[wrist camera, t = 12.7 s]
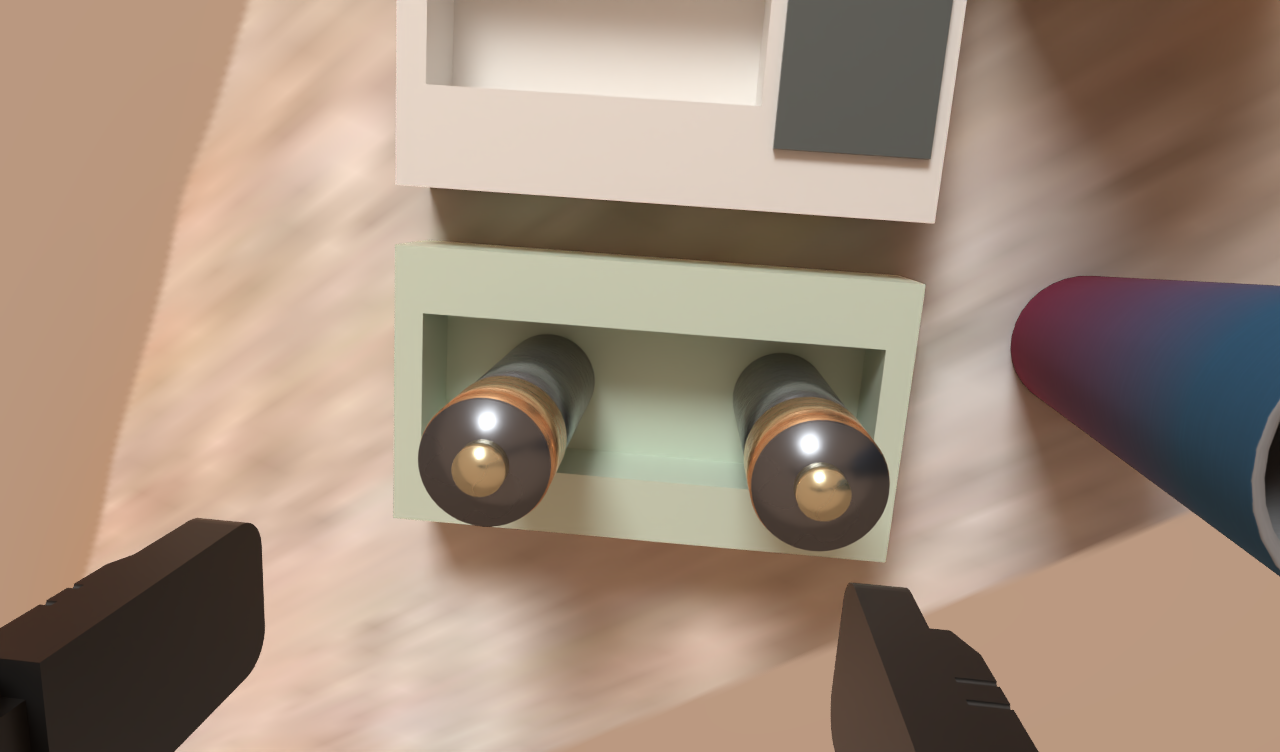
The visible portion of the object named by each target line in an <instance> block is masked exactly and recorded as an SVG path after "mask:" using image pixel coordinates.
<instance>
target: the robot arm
mask: <svg viewBox="0 0 1280 752" xmlns="http://www.w3.org/2000/svg"><path fill="white" fill-rule="evenodd" d="M264 633H265V619H264V594H263V569H262V545H261V537H260V534H259V531H258V529H257V528H256V527H255V526H254V525H253V524H251V523H243V522H233V521H223V520H212V519H202V518H195V519H192V520H190V521H188V522H186V523H185V524H183V525H182V526H180V527H178V528H177V529H175V530H173V531H172V532H170V533H168V534H167V535H165V536H164V537H162V538H160V539H159V540H157V541H155V542H154V543H152V544H150V545H149V546H147V547H146V548H144V549H142V550H141V551H139V552H137V553H136V554H134V555H131V556H128V557H126V558H123V559H120V560H117V561H115V562H112V563H109V564H106V565H105V566H103V567H101V568H100V569H98V570H96V571H95V572H93V573H91V574H90V575H88V576H86V577H85V578H83V579H81V580H80V581H78V582H76V583H75V584H74V587H73V588H66V589H65V590H63V591H61V592H60V593H58V594H56V595H55V596H53V597H51V598H50V599H48V600H47V602H46V605H38V606H36V607H35V608H33V609H31V610H30V611H28V612H26V613H25V614H23V615H21V616H20V617H18V618H16V619H15V620H13V621H11V622H10V623H8V624H6V625H5V626H3V627H1V628H0V752H174V751H175V750H176V749H177V748H178V747H179V746H180V745H181V744H182V743H183V742H184V741H185V740H186V739H187V738H188V737H189V736H190V735H191V734H192V733H193V732H194V731H195V730H196V729H197V728H198V727H199V726H200V725H201V724H202V723H203V722H204V721H205V720H206V719H207V718H208V717H209V715H210V714H211V713H212V712H213V711H214V710H215V709H216V708H217V707H218V706H219V705H220V704H221V703H222V702H223V701H224V700H225V699H226V698H227V697H228V696H229V695H230V694H231V693H232V692H233V691H234V690H235V689H236V688H237V687H238V686H239V685H240V684H241V683H242V682H243V681H244V680H245V679H246V678H247V676H248V675H249V674H250V673H251V671H252V670H253V668H254V666H255V664H256V662H257V660H258V658H259V655H260V652H261V649H262V645H263V640H264ZM831 730H832V739H833V745H834V749H835V752H1038V750H1037V749H1036V747H1035V745H1034V743H1033V742H1032V740H1031V739H1030V737H1029V735H1028V733H1027V732H1026V730H1025V729H1024V727H1023V725H1022V723H1021V722H1020V720H1019V718H1018V717H1017V715H1016V713H1015V712H1014V710H1010V703H1009V702H1008V700H1007V698H1006V697H1005V695H1004V693H1003V692H1002V690H1001V688H1000V687H997V685H996V680H995V678H994V677H993V675H992V673H991V671H990V670H989V668H988V666H987V665H986V663H985V661H984V660H983V658H982V656H981V655H980V654H979V653H978V652H977V651H975V650H974V649H973V648H971V647H970V646H969V645H968V644H966V643H965V642H964V641H963V640H961V639H960V638H959V637H958V636H956V635H955V634H954V633H953V632H951V631H949V630H939V629H929V627H928V625H927V623H926V621H925V619H924V617H923V615H922V613H921V611H920V609H919V607H918V605H917V603H916V601H915V600H914V598H913V596H912V594H911V592H910V590H909V589H908V588H902V587H891V586H881V585H871V584H860V583H849V584H848V585H847V588H846V591H845V595H844V600H843V607H842V615H841V623H840V631H839V639H838V646H837V655H836V662H835V670H834V678H833V686H832V695H831Z"/></svg>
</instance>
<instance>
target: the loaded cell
mask: <svg viewBox="0 0 1280 752" xmlns="http://www.w3.org/2000/svg"><path fill="white" fill-rule="evenodd" d="M733 408H734V413H735V418H736V422H737V427H738V432H739V437H740V441H741V446H742V451H743V456H744V469H745V474H746V479H747V483H748V488H749V493H750V498H751V502H752V505H753V508H754V510H755V513H756V515H757V516H758V518H759V520H760V521H761V522H762V524H763V525H764V526H765V527H766V528H767V529H768V530H769V531H770V532H771V533H772V534H773V535H774V536H776V537H777V538H778V539H779V540H781V541H783V542H785V543H786V544H788V545H791V546H793V547H796V548H799V549H803V550H808V551H831V550H835V549H839V548H842V547H845V546H848V545H850V544H852V543H854V542H856V541H857V540H859V539H861V538H862V537H863V536H865V535H866V534H867V533H868V532H869V531H870V530H871V529H872V528H873V527H874V526H875V525H876V523H877V522H878V520H879V519H880V518H881V516H882V514H883V512H884V510H885V507H886V504H887V501H888V497H889V488H890V478H889V470H888V466H887V463H886V460H885V457H884V455H883V454H882V452H881V450H880V448H879V447H878V446H877V444H876V443H875V442H874V440H873V439H872V438H871V436H870V435H869V434H868V433H867V431H866V430H865V429H864V427H863V426H862V425H861V424H860V422H859V421H858V420H857V418H856V417H855V416H854V415H853V414H852V413H851V412H849V411H848V409H847V408H846V407H845V406H844V404H843V403H842V402H841V400H840V399H839V398H838V396H837V395H836V394H835V392H834V391H833V390H832V389H831V387H830V386H829V385H828V383H827V382H826V381H825V379H824V378H823V377H822V375H821V374H820V373H819V372H818V370H817V369H816V368H815V367H814V366H813V365H812V364H811V363H810V362H808V361H807V360H805V359H803V358H801V357H799V356H797V355H793V354H788V353H773V354H769V355H765V356H762V357H760V358H758V359H756V360H754V361H753V362H752V363H750V364H749V365H748V366H747V367H746V368H745V369H744V370H743V371H742V373H741V374H740V376H739V377H738V379H737V381H736V384H735V387H734V391H733Z"/></svg>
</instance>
